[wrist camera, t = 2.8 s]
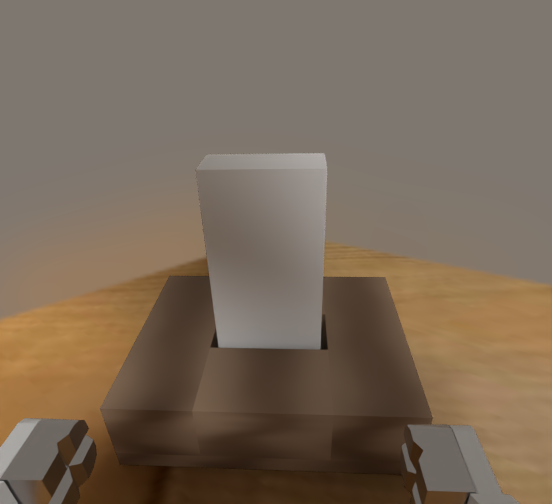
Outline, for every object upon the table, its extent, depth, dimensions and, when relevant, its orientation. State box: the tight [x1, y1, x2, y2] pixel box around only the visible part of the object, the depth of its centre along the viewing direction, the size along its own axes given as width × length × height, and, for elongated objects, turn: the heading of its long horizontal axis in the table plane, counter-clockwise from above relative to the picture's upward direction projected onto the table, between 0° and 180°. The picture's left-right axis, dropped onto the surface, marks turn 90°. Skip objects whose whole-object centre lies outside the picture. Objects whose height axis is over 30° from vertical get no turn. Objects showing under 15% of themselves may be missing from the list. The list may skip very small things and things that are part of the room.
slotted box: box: [100, 276, 432, 475], centre depth 25 cm, size 16×12×4 cm
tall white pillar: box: [196, 153, 327, 350], centre depth 23 cm, size 6×2×14 cm, turn 87°
